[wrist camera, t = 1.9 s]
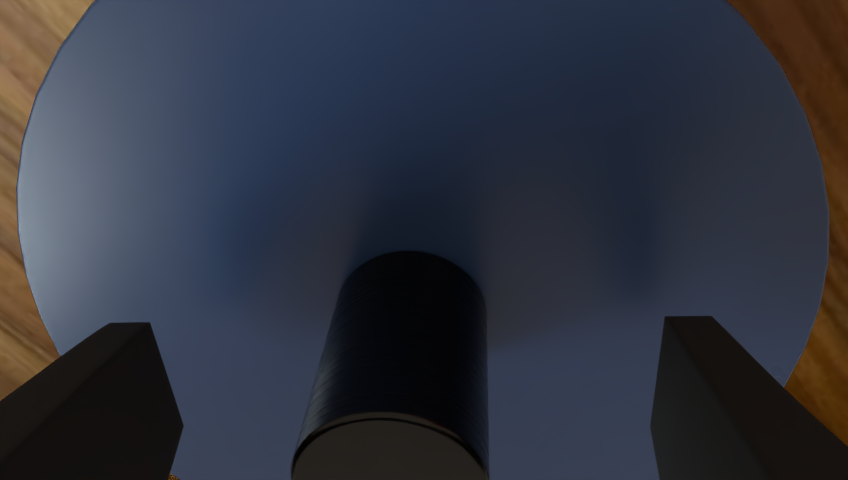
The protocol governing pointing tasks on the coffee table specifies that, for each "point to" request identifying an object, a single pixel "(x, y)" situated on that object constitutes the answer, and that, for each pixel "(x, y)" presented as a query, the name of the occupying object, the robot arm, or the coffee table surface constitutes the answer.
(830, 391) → the coffee table surface
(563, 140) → the lid
